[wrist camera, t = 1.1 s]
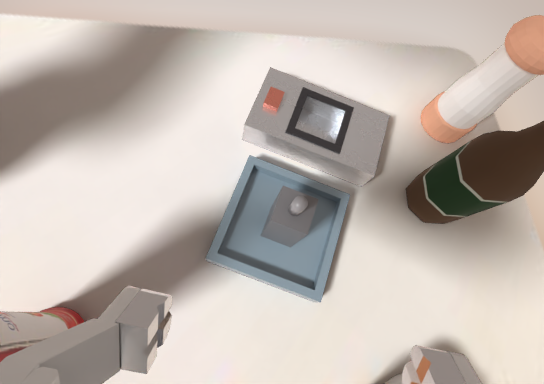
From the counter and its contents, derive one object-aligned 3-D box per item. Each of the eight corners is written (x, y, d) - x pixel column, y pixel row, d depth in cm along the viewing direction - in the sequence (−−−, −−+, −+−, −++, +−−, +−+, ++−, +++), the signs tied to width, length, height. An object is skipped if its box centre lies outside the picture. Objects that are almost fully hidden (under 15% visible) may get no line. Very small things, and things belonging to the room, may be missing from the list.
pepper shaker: (446, 98, 52) (564, -7, 35) (470, 135, 51) (607, 44, 33) (412, 110, 51) (518, 5, 33) (436, 149, 49) (562, 60, 31)
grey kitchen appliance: (242, 139, 44) (244, 121, 40) (266, 85, 48) (271, 63, 43) (361, 186, 45) (377, 173, 40) (376, 129, 48) (392, 112, 44)
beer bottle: (447, 235, 44) (682, 167, 22) (397, 211, 44) (580, 118, 22) (457, 188, 47) (675, 85, 25) (410, 166, 47) (585, 43, 25)
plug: (260, 235, 39) (274, 213, 29) (271, 207, 40) (287, 176, 31) (290, 247, 39) (314, 229, 29) (300, 218, 41) (325, 191, 31)
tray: (206, 261, 38) (205, 258, 36) (247, 163, 43) (249, 155, 41) (314, 302, 38) (320, 302, 36) (343, 200, 43) (350, 194, 41)
